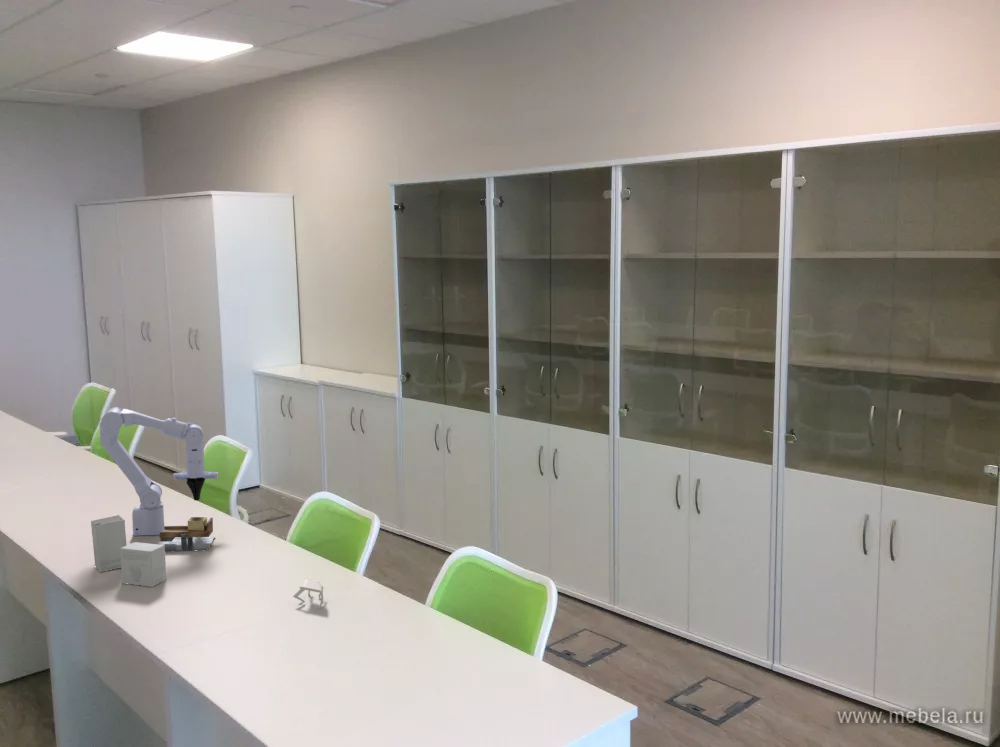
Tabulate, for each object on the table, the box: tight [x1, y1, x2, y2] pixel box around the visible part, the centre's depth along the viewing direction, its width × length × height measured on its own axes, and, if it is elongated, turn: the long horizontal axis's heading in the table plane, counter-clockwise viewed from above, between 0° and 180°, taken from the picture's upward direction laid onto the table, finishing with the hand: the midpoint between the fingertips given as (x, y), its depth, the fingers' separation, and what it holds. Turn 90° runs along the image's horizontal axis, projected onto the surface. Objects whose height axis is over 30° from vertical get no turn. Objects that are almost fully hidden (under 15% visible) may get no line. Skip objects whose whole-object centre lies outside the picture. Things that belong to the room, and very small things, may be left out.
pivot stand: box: [162, 534, 213, 553], centre depth 270 cm, size 15×12×5 cm
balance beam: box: [159, 517, 214, 543], centre depth 269 cm, size 15×6×6 cm, turn 97°
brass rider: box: [187, 516, 208, 531], centre depth 269 cm, size 5×4×4 cm
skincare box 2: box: [120, 541, 167, 588], centre depth 239 cm, size 10×6×10 cm, turn 74°
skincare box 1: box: [90, 514, 128, 573], centre depth 249 cm, size 8×6×15 cm
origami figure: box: [292, 578, 324, 610], centre depth 226 cm, size 12×8×5 cm
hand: (196, 499), depth 285 cm, fingers closed
